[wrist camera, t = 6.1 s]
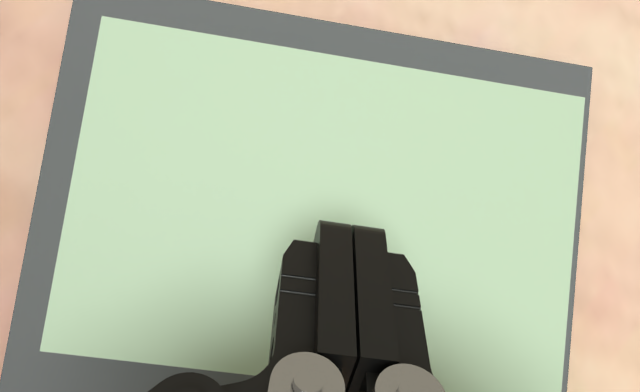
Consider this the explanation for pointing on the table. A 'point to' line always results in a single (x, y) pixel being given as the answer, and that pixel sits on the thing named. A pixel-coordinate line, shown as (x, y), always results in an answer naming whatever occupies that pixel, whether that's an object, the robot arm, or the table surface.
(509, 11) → the table surface
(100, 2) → the mat
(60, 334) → the block
